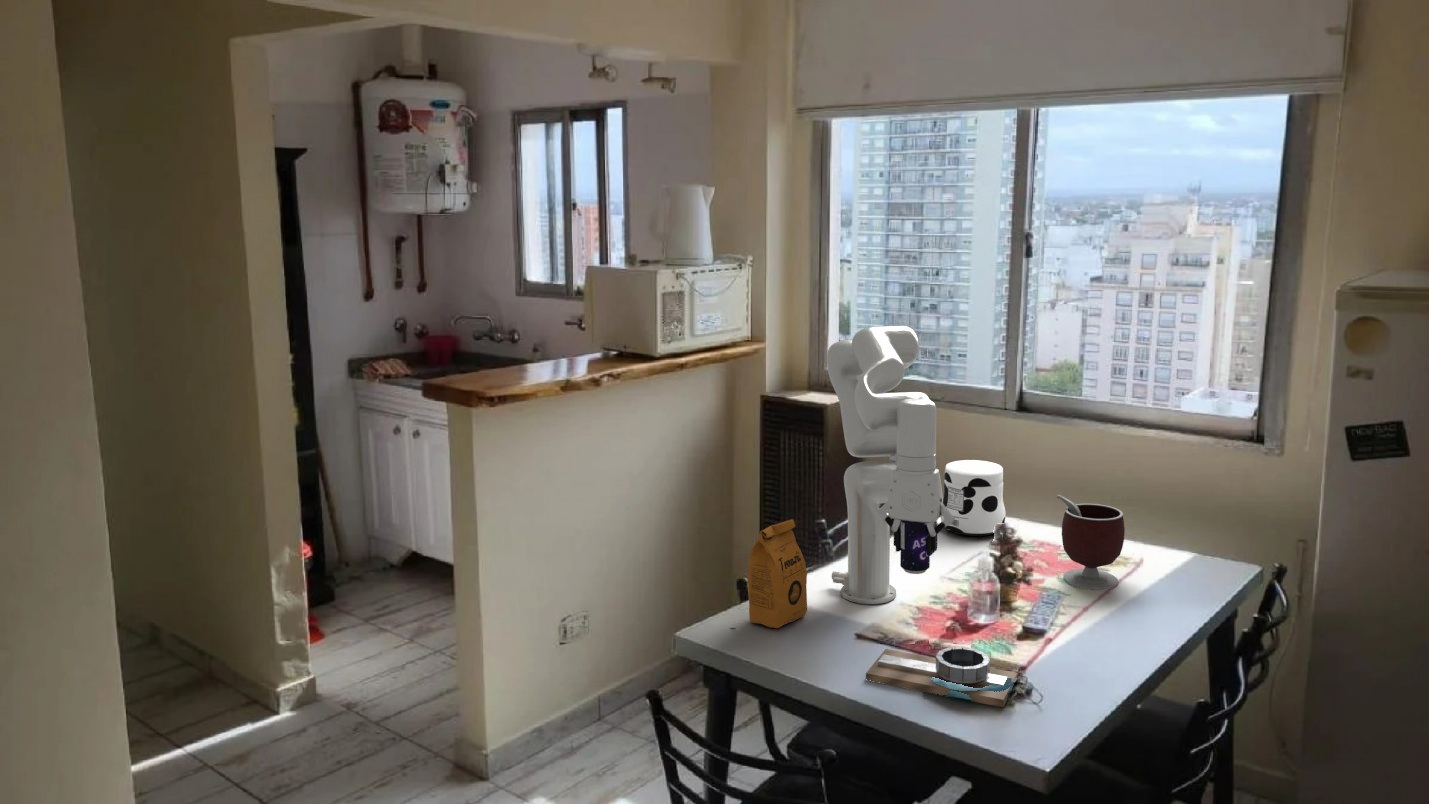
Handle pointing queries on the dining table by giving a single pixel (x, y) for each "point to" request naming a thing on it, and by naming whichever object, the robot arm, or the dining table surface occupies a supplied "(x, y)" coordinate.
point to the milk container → (974, 496)
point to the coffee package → (777, 577)
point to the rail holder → (951, 666)
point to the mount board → (927, 685)
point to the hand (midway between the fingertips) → (915, 550)
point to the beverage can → (914, 547)
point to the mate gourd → (1092, 543)
